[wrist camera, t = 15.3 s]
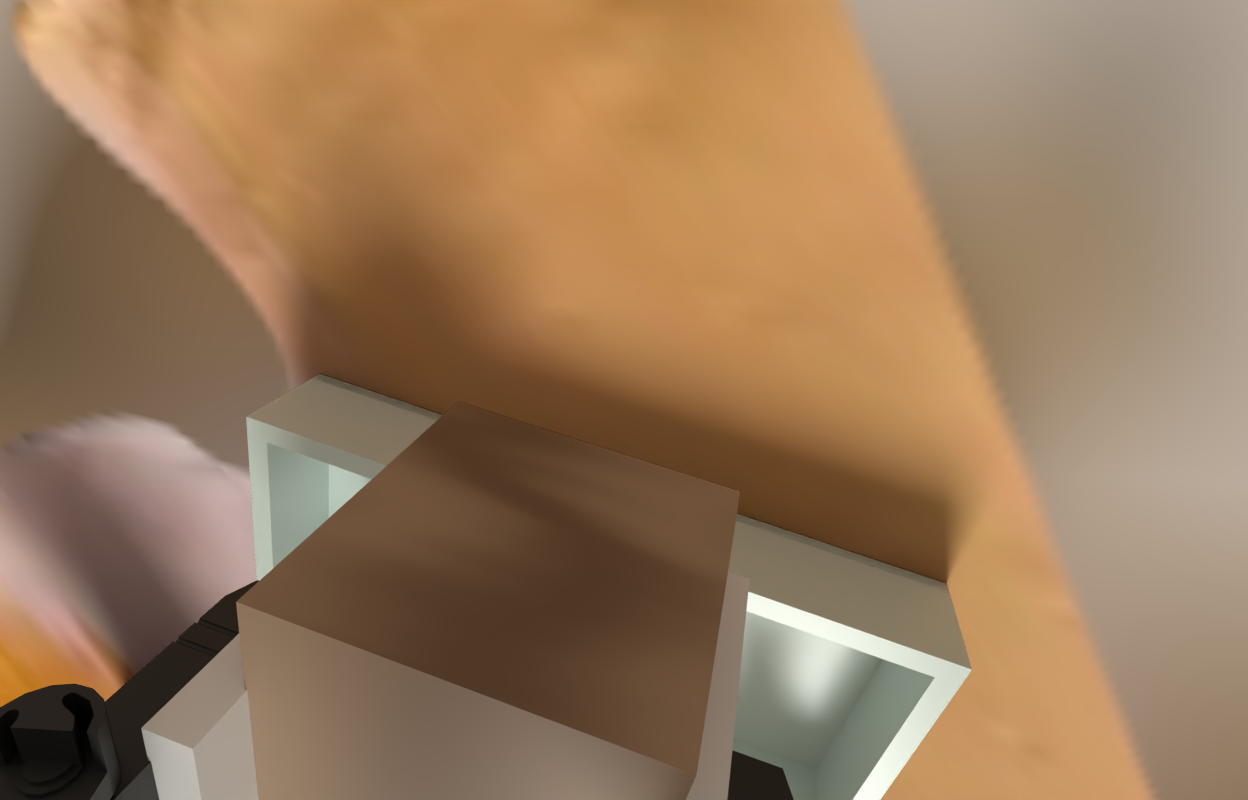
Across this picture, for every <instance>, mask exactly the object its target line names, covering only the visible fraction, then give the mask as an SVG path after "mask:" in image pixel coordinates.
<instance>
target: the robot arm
mask: <svg viewBox="0 0 1248 800" xmlns="http://www.w3.org/2000/svg"><path fill="white" fill-rule="evenodd" d="M257 582H259V580H257V581H255V582H253V583H251V584H249V585H247V586H245V587H242V588H240V589H238V590H236V591H234V592H232V593H230V594H228V595H226V596H225V597H224V598H222V599H221V600H220V601H219V602H218V603H217V604H216V605H214V606H213V607H212V608H211V609H210V610H209V611H208V612H207V613H205V614H204V615H203V616H202V617H201V618H200V620H199V622H198V623H194V624H193V625H192V626H191V627H189V628H188V629H187V630H186V631H185V632H184V633H183V634H182V635H180V636H179V639H178V640H177V641H176V642H172V643H171V644H170V645H169V646H168V647H167V648H166V649H164V650H163V651H162V652H161V653H160V654H159V655H158V656H156V657H155V658H154V659H153V660H152V661H151V662H150V663H149V664H147V665H146V666H145V667H144V668H143V669H142V670H141V671H139V672H138V673H137V674H136V675H135V676H134V677H133V678H131V679H130V680H129V681H128V682H127V683H126V684H125V685H124V686H122V687H121V688H120V689H119V690H118V691H117V692H116V693H114V694H113V695H112V696H111V697H110V698H109V699H108V700H106V701H105V702H104V699H103V698H102V697H101V696H100V695H99V694H98V693H97V692H96V691H95V690H94V689H93V688H89V687H85V686H82V685H78V684H64V685H51V686H48V687H45V688H41V689H38V690H35V691H32V692H29V693H26V694H24V695H22V696H20V697H18V698H16V699H15V700H13V701H11V702H9V703H7V704H6V705H4V706H2V707H0V800H258V791H257V781H256V771H255V761H254V751H253V742H252V732H251V722H250V712H249V702H248V692H247V690H246V689H245V686H244V676H243V666H242V656H241V646H240V636H239V626H238V616H237V606H236V601H238V600H239V599H240V598H241V597H242V596H243V595H244V594H245V593H246V592H248V591H249V590H250V589H251V588H252V587H253V586H254V585H255V584H256V583H257ZM748 589H749V579H748V578H745V577H742V576H739V575H736V574H733V573H730V572H728V575H727V582H726V588H725V594H724V601H723V607H722V614H721V620H720V627H719V633H718V640H717V646H716V652H715V659H714V665H713V672H712V678H711V685H710V691H709V698H708V704H707V711H706V717H705V723H704V730H703V736H702V743H701V749H700V756H699V762H698V769H697V775H696V777H695V780H694V782H693V784H692V787H691V789H690V791H689V794H688V796H687V798H686V800H794V799H793V796H792V793H791V790H790V787H789V785H788V782H787V779H786V776H785V773H784V770H783V768H781V767H778V766H775V765H772V764H770V763H767V762H764V761H761V760H758V759H756V758H753V757H750V756H747V755H745V754H742V753H739V752H736V751H734V750H732V749H733V739H734V729H735V719H736V709H737V699H738V689H739V679H740V669H741V659H742V649H743V639H744V629H745V619H746V609H747V599H748Z"/></svg>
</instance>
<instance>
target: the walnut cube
mask: <svg viewBox="0 0 1248 800" xmlns="http://www.w3.org/2000/svg"><path fill="white" fill-rule="evenodd" d="M739 498H740V491H737V490H734V489H731V488H728V487H725V486H722V485H719V484H715V483H712V482H709V481H706V480H703V479H700V478H697V477H694V476H690V475H687V474H684V473H681V472H678V471H675V470H672V469H668V468H665V467H662V466H659V465H656V464H653V463H650V462H647V461H643V460H640V459H637V458H634V457H631V456H628V455H625V454H621V453H618V452H615V451H612V450H609V449H606V448H603V447H599V446H596V445H593V444H590V443H587V442H584V441H581V440H578V439H574V438H571V437H568V436H565V435H562V434H559V433H556V432H552V431H549V430H546V429H543V428H540V427H537V426H534V425H530V424H527V423H524V422H521V421H518V420H515V419H512V418H509V417H505V416H502V415H499V414H496V413H493V412H490V411H487V410H483V409H480V408H477V407H474V406H471V405H468V404H465V403H461V402H457V403H456V404H455V405H454V406H452V407H451V408H450V409H449V410H448V411H447V412H446V413H445V414H444V415H442V416H441V417H440V418H439V419H438V420H437V421H436V422H435V423H434V424H432V425H431V426H430V427H429V428H428V429H427V430H426V431H425V432H424V433H422V434H421V435H420V436H419V437H418V438H417V439H416V440H415V441H414V442H413V443H411V444H410V445H409V446H408V447H407V448H406V449H405V450H404V451H403V452H401V453H400V454H399V455H398V456H397V457H396V458H395V459H394V460H393V461H391V462H390V463H389V464H388V465H387V466H386V467H385V468H384V469H383V470H382V471H380V472H379V473H378V474H377V475H376V476H375V477H374V478H373V479H372V480H370V481H369V482H368V483H367V484H366V485H365V486H364V487H363V488H362V489H360V490H359V491H358V492H357V493H356V494H355V495H354V496H353V497H352V498H351V499H349V500H348V501H347V502H346V503H345V504H344V505H343V506H342V507H341V508H339V509H338V510H337V511H336V512H335V513H334V514H333V515H332V516H331V517H329V518H328V519H327V520H326V521H325V522H324V523H323V524H322V525H321V526H320V527H318V528H317V529H316V530H315V531H314V532H313V533H312V534H311V535H310V536H308V537H307V538H306V539H305V540H304V541H303V542H302V543H301V544H300V545H298V546H297V547H296V548H295V549H294V550H293V551H292V552H291V553H290V554H288V555H287V556H286V557H285V558H284V559H283V560H282V561H281V562H280V563H279V564H277V565H276V566H275V567H274V568H273V569H272V570H271V571H270V572H269V573H267V574H266V575H265V576H264V577H263V578H262V579H261V580H260V581H259V582H257V583H256V584H255V585H254V586H253V587H252V588H251V589H250V590H249V591H248V592H246V593H245V594H244V595H243V596H242V597H241V598H240V599H239V600H238V601H236V606H237V616H238V626H239V636H240V646H241V656H242V666H243V676H244V686H245V689H246V690H247V692H248V702H249V712H250V722H251V732H252V742H253V751H254V761H255V771H256V781H257V791H258V800H686V798H687V796H688V794H689V791H690V789H691V787H692V784H693V782H694V780H695V777H696V775H697V769H698V762H699V756H700V749H701V743H702V736H703V730H704V723H705V717H706V711H707V704H708V698H709V691H710V685H711V678H712V672H713V665H714V659H715V652H716V646H717V640H718V633H719V627H720V620H721V614H722V607H723V601H724V594H725V588H726V582H727V575H728V569H729V562H730V556H731V549H732V543H733V536H734V530H735V523H736V517H737V511H738V504H739Z"/></svg>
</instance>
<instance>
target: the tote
mask: <svg viewBox="0 0 1248 800" xmlns="http://www.w3.org/2000/svg"><path fill="white" fill-rule="evenodd" d="M441 416H442V415H441V414H438V413H435V412H432V411H429V410H426V409H423V408H421V407H418V406H415V405H412V404H409V403H406V402H403V401H400V400H397V399H394V398H391V397H388V396H385V395H382V394H379V393H376V392H373V391H370V390H367V389H364V388H361V387H358V386H355V385H352V384H349V383H346V382H343V381H340V380H337V379H334V378H331V377H328V376H325V375H322V374H318V375H316V376H315V377H313V378H311V379H310V380H308V381H306V382H304V383H303V384H301V385H299V386H298V387H296V388H294V389H293V390H291V391H289V392H287V393H286V394H284V395H282V396H281V397H279V398H277V399H276V400H274V401H272V402H271V403H269V404H267V405H266V406H264V407H262V408H260V409H259V410H257V411H255V412H253V413H252V414H250V415H249V416H247V417H246V420H247V435H248V450H249V467H250V482H251V498H252V514H253V530H254V545H255V561H256V577H257V580H259V581H260V580H261V579H262V578H263V577H264V576H265V575H266V574H267V573H269V572H270V571H271V570H272V569H273V568H274V567H275V566H276V565H277V564H279V563H280V562H281V561H282V560H283V559H284V558H285V557H286V556H287V555H288V554H290V553H291V552H292V551H293V550H294V549H295V548H296V547H297V546H298V545H300V544H301V543H302V542H303V541H304V540H305V539H306V538H307V537H308V536H310V535H311V534H312V533H313V532H314V531H315V530H316V529H317V528H318V527H320V526H321V525H322V524H323V523H324V522H325V521H326V520H327V519H328V518H329V517H331V516H332V515H333V514H334V513H335V512H336V511H337V510H338V509H339V508H341V507H342V506H343V505H344V504H345V503H346V502H347V501H348V500H349V499H351V498H352V497H353V496H354V495H355V494H356V493H357V492H358V491H359V490H360V489H362V488H363V487H364V486H365V485H366V484H367V483H368V482H369V481H370V480H372V479H373V478H374V477H375V476H376V475H377V474H378V473H379V472H380V471H382V470H383V469H384V468H385V467H386V466H387V465H388V464H389V463H390V462H391V461H393V460H394V459H395V458H396V457H397V456H398V455H399V454H400V453H401V452H403V451H404V450H405V449H406V448H407V447H408V446H409V445H410V444H411V443H413V442H414V441H415V440H416V439H417V438H418V437H419V436H420V435H421V434H422V433H424V432H425V431H426V430H427V429H428V428H429V427H430V426H431V425H432V424H434V423H435V422H436V421H437V420H438V419H439V418H440V417H441ZM728 572H730V573H733V574H736V575H739V576H742V577H745V578H748V579H749V589H748V599H747V609H746V619H745V629H744V639H743V649H742V659H741V669H740V679H739V689H738V699H737V709H736V719H735V729H734V739H733V749H732V750H734V751H736V752H739V753H742V754H745V755H747V756H750V757H753V758H756V759H758V760H761V761H764V762H767V763H770V764H772V765H775V766H778V767H781V768H783V770H784V773H785V776H786V779H787V782H788V785H789V787H790V790H791V793H792V796H793V799H794V800H880V799H881V798H882V796H883V795H884V794H885V792H886V791H887V789H888V788H889V786H890V785H891V784H892V782H893V781H894V779H895V778H896V777H897V775H898V774H899V772H900V771H901V769H902V768H903V767H904V765H905V764H906V762H907V761H908V760H909V758H910V757H911V755H912V754H913V752H914V751H915V750H916V748H917V747H918V745H919V744H920V743H921V741H922V740H923V738H924V737H925V735H926V734H927V733H928V731H929V730H930V728H931V727H932V726H933V724H934V723H935V721H936V720H937V718H938V717H939V716H940V714H941V713H942V711H943V710H944V709H945V707H946V706H947V704H948V703H949V701H950V700H951V699H952V697H953V696H954V694H955V693H956V692H957V690H958V689H959V687H960V686H961V684H962V683H963V682H964V680H965V679H966V677H967V676H968V675H969V673H970V672H971V670H972V668H971V665H970V661H969V658H968V654H967V651H966V647H965V644H964V640H963V637H962V634H961V630H960V627H959V623H958V620H957V616H956V613H955V610H954V606H953V603H952V599H951V596H950V592H949V589H948V586H947V584H946V583H943V582H940V581H937V580H934V579H931V578H928V577H925V576H922V575H919V574H916V573H913V572H910V571H907V570H904V569H901V568H898V567H895V566H892V565H889V564H886V563H883V562H880V561H877V560H874V559H871V558H868V557H865V556H862V555H859V554H856V553H853V552H850V551H847V550H845V549H842V548H839V547H836V546H833V545H830V544H827V543H824V542H821V541H818V540H815V539H812V538H809V537H806V536H803V535H800V534H797V533H794V532H791V531H788V530H785V529H782V528H779V527H776V526H773V525H770V524H767V523H764V522H761V521H758V520H755V519H752V518H749V517H746V516H743V515H740V514H737V517H736V523H735V530H734V536H733V543H732V549H731V556H730V562H729V569H728Z"/></svg>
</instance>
